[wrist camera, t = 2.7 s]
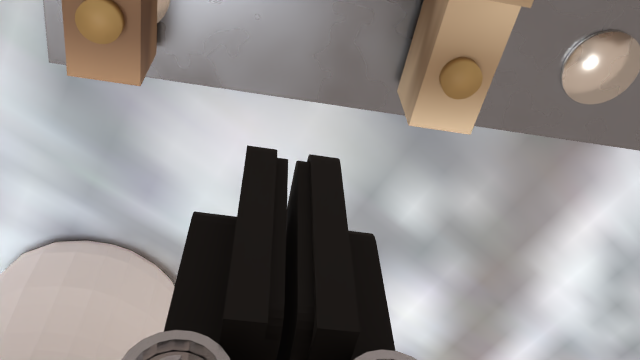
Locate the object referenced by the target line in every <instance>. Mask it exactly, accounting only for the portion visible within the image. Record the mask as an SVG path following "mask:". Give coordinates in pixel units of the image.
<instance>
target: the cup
mask: <svg viewBox="0 0 640 360" xmlns="http://www.w3.org/2000/svg"><path fill="white" fill-rule="evenodd" d="M173 291H174V285H173V283H172V281H171V280H170V278H169V277H168V276H167V275H166V274H165V273H164V272H163V271H162V270H160V269H159V268H158V267H157V266H156V265H155V264H153V263H152V262H150V261H148V260H147V259H145V258H143V257H142V256H140V255H138V254H136V253H135V252H133V251H131V250H128V249H125V248H122V247H119V246H116V245H113V244H108V243H101V242H94V241H87V240H86V241H61V242H55V243H51V244H49V245H46V246H43V247H40V248H38V249H35V250H32V251H29V252H26V253H24V254H22V255H21V256H20V257H19V258H18V259H16V260H15V261H14V262H13V263H12V264H11V265H10V266H9V267H8V268H7V269H6V270H5V271H4V272H3V273H1V274H0V360H122V358H123V357H124V356H125V354H126V353H127V351H128V350H129V349H130V348H132V347H133V346H134V345H136V344H137V343H138V342H140V341H141V340H142V339H144V338H147V337H149V336H152V335H154V334H156V333H159V332H164V328H165V324H166V320H167V316H168V312H169V308H170V303H171V299H172V295H173Z"/></svg>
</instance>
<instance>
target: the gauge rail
mask: <svg viewBox="0 0 640 360" xmlns="http://www.w3.org/2000/svg"><path fill="white" fill-rule="evenodd" d="M61 1H62V14H63V27H64V40H65V53H66V66H67V75H68V76H74V77H81V78H88V79H95V80H102V81H108V82H115V83H122V84H129V85H136V86H141V84H142V82H143V80H144V78H145V76H146V74H147V72H148V70H149V68H150V66H151V64H152V62H153V60H154V58H155V55H156V48H157V1H158V0H61Z"/></svg>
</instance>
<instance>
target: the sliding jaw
mask: <svg viewBox="0 0 640 360" xmlns="http://www.w3.org/2000/svg"><path fill="white" fill-rule="evenodd" d="M533 1H534V0H424V1H423V5H422V8H421V12H420V15H419V18H418V22H417V25H416V28H415V32H414V35H413V39H412V42H411V45H410V49H409V52H408V56H407V59H406V62H405V66H404V69H403V73H402V76H401V79H400V83H399V86H398V90H397V92H398V95H399V98H400V101H401V104H402V107H403V110H404V113H405V116H406V119H407V122H408V125H409V126H416V127H422V128H429V129H436V130H443V131H450V132H457V133H463V134H471V132H472V129H473V127H474V124H475V122H476V119H477V117H478V114H479V112H480V109H481V107H482V104H483V102H484V99H485V97H486V94H487V92H488V89H489V87H490V84H491V82H492V79H493V77H494V74H495V71H496V69H497V66H498V64H499V61H500V59H501V56H502V54H503V51H504V49H505V46H506V44H507V41H508V39H509V36H510V34H511V31H512V29H513V26H514V24H515V21H516V19H517V16H518V14H519V11H520V9H521V6H522V7H527V8H531V6H532V4H533Z"/></svg>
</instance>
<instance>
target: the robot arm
mask: <svg viewBox="0 0 640 360" xmlns="http://www.w3.org/2000/svg"><path fill="white" fill-rule="evenodd" d="M287 182H288V159H282V158H277V150H275V149H268V148H261V147H253V146H247V152H246V159H245V166H244V173H243V180H242V187H241V194H240V201H239V208H238V215H237V217H234V216H226V215H218V214H209V213H201V212H194V213H193V216H192V219H191V223H190V227H189V231H188V235H187V239H186V243H185V247H184V251H183V255H182V259H181V263H180V267H179V271H178V275H177V279H176V283H175V287H174V291H173V295H172V299H171V303H170V308H169V312H168V316H167V320H166V324H165V328H164V332H159V333H156V334H154V335H152V336H149V337H147V338H144V339H142V340H141V341H140V342H138V343H137V344H136V345H134V346H133V347H132V348H130V349H129V350H128V351H127V353H126V354H125V356H124V357H123V358H122V360H416V359H415V358H413V357H412V356H409V355H406V354H403V353H401V352H398V351H395V346H394V340H393V335H392V329H391V324H390V318H389V312H388V307H387V301H386V295H385V290H384V284H383V278H382V273H381V267H380V261H379V256H378V250H377V244H376V240H375V237H374V235H373V234H370V233H362V232H354V231H348V224H347V216H346V207H345V199H344V190H343V182H342V173H341V165H340V159H338V158H331V157H324V156H317V155H309V157H308V160H307V162H303V161H297V162H296V166H295V170H294V176H293V181H292V186H291V191H290V196H289V201H288V206H287Z"/></svg>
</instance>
